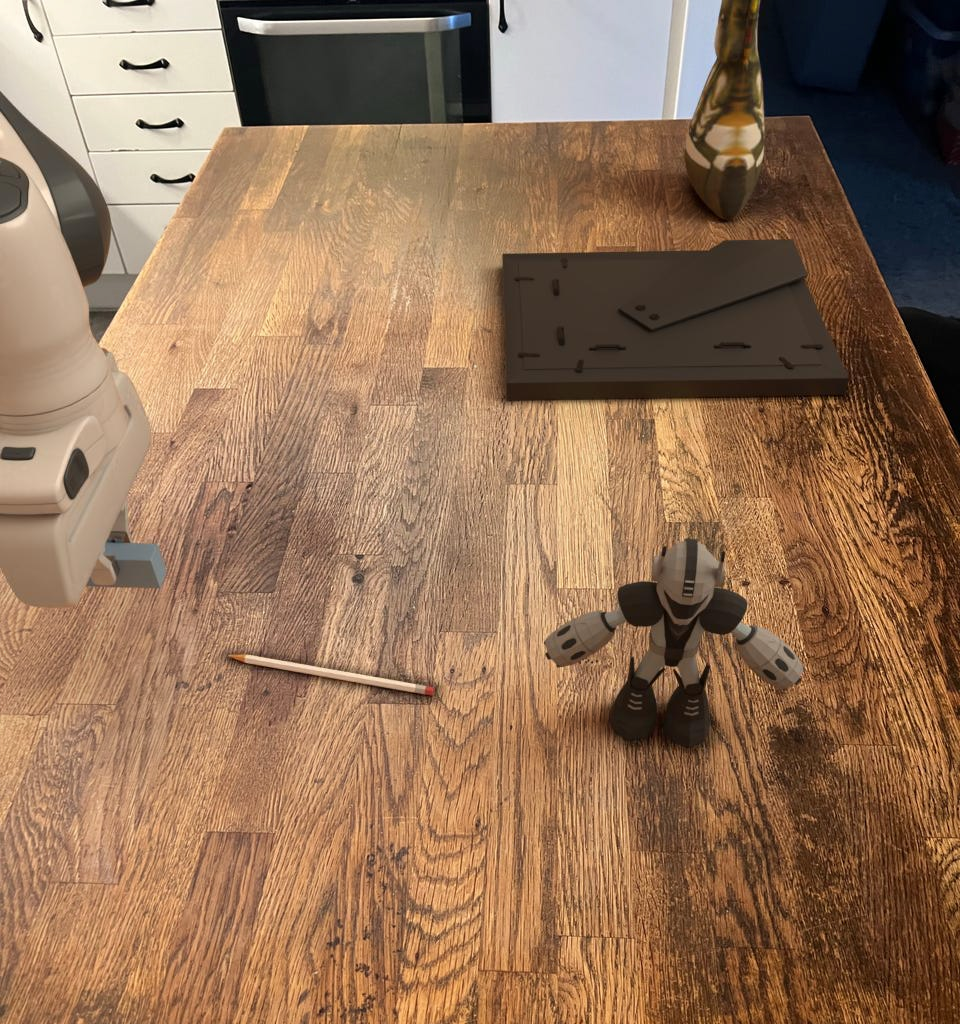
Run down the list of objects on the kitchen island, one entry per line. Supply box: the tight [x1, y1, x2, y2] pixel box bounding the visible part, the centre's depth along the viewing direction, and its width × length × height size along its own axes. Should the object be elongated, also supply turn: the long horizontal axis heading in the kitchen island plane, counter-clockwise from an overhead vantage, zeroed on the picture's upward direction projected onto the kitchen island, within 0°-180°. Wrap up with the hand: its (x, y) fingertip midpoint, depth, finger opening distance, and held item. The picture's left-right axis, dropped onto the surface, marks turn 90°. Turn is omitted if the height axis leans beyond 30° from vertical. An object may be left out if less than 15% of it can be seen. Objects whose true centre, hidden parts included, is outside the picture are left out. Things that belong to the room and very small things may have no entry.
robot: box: [543, 537, 804, 749], centre depth 74 cm, size 20×5×20 cm, turn 81°
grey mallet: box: [85, 542, 168, 590], centre depth 78 cm, size 11×4×3 cm, turn 87°
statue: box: [684, 0, 766, 221], centre depth 135 cm, size 16×11×35 cm, turn 3°
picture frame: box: [501, 238, 850, 401], centre depth 122 cm, size 31×4×38 cm
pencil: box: [227, 654, 435, 697], centre depth 85 cm, size 1×19×1 cm, turn 77°
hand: (114, 564), depth 78 cm, fingers closed on grey mallet, 2 cm apart
